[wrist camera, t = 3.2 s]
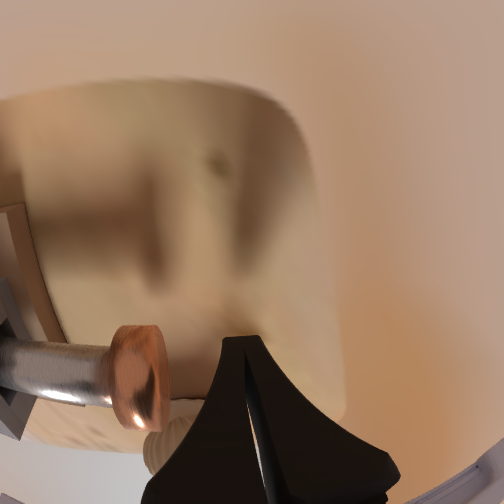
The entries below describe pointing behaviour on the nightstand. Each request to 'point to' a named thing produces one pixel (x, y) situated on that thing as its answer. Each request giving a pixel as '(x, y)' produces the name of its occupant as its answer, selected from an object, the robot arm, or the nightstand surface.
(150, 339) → the shaft
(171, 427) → the cream ribbed curved piece
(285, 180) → the nightstand surface
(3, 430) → the housing
